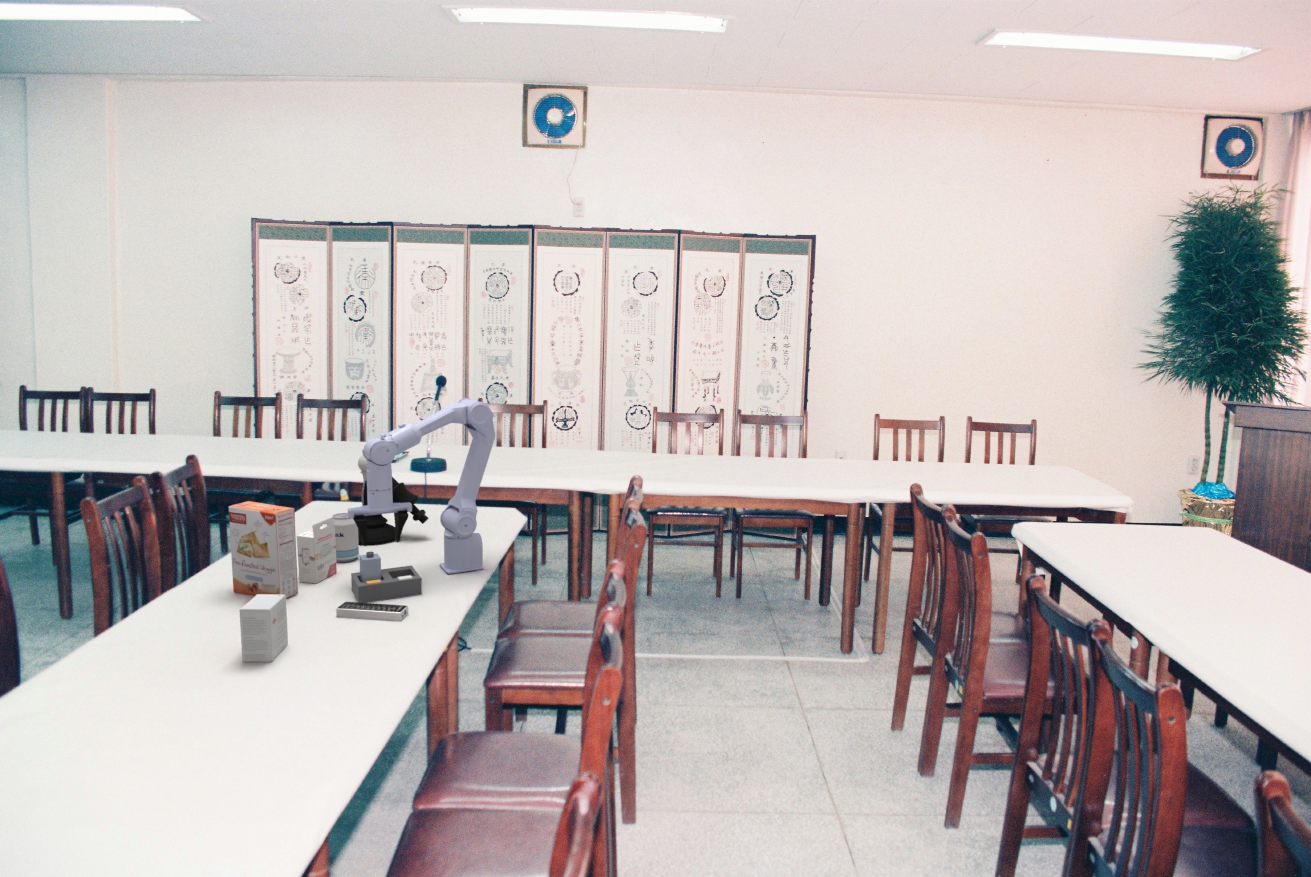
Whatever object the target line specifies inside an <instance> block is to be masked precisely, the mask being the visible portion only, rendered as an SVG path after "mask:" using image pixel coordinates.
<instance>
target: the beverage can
mask: <svg viewBox="0 0 1311 877" xmlns="http://www.w3.org/2000/svg"><path fill="white" fill-rule="evenodd" d="M331 517H333V519H334V528H335V541H336V561H337V562H336V563H348V562H349V563H350V562H352V561H354V560H355V559H356V558H357V557H360V552H359V550H360V548H359V546H360V545H359V543H358V527H357V525H356V523H355V521H354V520H353V518H349V517H348V512H341V513H340V512H339V513H336V514H333V515H332V516H331Z"/></svg>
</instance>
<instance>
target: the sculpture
mask: <svg viewBox="0 0 1311 877" xmlns="http://www.w3.org/2000/svg"><path fill="white" fill-rule="evenodd" d="M357 461H358V462H357V466H358V469H360V472H359V473H360V474H362V479H363V484H362V488H361V489H362V490H361V506H366V505H368V501H367V472H366V471H367V459H366V458H365V457H364V456H363V454H362V455H361V456H360V457H359V458H358V460H357ZM392 496H393V503H409V502H410V503H411V504H412V512H409V513H410V514H411V515H412V520H413V521H414V522H417V521H419V522H420V524H421V525H423V524H425V523H426V522H427V521H428V520H429V517H428V516H427V515H426V510H425V509H419V508H418V506H416V505H415V503H416V501H417V500H418V499H419V495H418V494H415V493H412V492H411V491H409V490H408V489H407V486H406V485H405V482H400V483H399V482H398V481H397V480H396V478H394V477H393V476H392ZM364 517H365V520H366V521H367V524H366V536H367V546H380V545H381V546H383V545H386V544H391V543H394V542H396V540H395V525H391V524H390V523H388V521H389V520H388V519H387V518H386V517H384V516H383V514H378V515H368V516H364ZM358 543H359V546H363V544H362V539H361V535H360V532H359V530H358ZM367 546H366V547H367ZM363 547H364V546H363Z"/></svg>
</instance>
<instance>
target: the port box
mask: <svg viewBox="0 0 1311 877" xmlns="http://www.w3.org/2000/svg"><path fill="white" fill-rule="evenodd" d="M350 575H351V580H350V582H351V591H352V593H353V595H354V596H355V598H356V601H357V602H360V603H373V602H380V601H384V600H391V599H392V600H393V599H398V598H405V597H413V596H419V595H422V594H423V592H422V591H423V587H422V585H423V584H422V583H423V582H422V576H420V574H419V573H418V571H417V570H416V569H415V568H414V566H413V565H406V566H398V567H390V568H389V567H388V568H381V580H380V579H379V580H372V581H366V582H363V583H361V582H360V571H359V572H351V574H350Z"/></svg>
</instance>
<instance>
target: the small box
mask: <svg viewBox="0 0 1311 877" xmlns="http://www.w3.org/2000/svg"><path fill="white" fill-rule="evenodd" d="M287 610H288V608H287V599H286V595H281V594H257V595H256V596H253V597H252V598H250V600H249V601H248V602H246V603H245V604H244V605H243V606H242V607H241V608H239V622H240V624H239V625H240V639H241V641H240V643H241V655H242V656H241V658H242V663H256V662H258V663H259V662H260V663H262V662H263V663H266V662H267V663H270V662H271V663H272V662H273V661H274V660H275V659H276V658H277V656H279V654H280V653H281V652H282V651H283V650H284V649H285V648H286V647H287V646H288V645H289V640H288V639H289V637H288V635H289V634H288V614H287V613H288V612H287Z"/></svg>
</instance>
